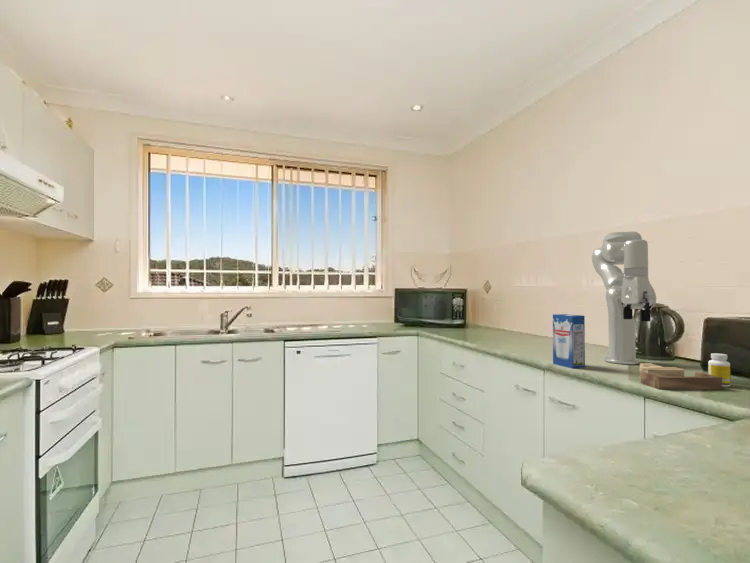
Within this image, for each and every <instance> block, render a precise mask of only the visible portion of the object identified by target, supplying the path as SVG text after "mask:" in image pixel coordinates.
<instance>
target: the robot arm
mask: <svg viewBox="0 0 750 563" xmlns="http://www.w3.org/2000/svg"><path fill="white" fill-rule="evenodd" d="M602 243H603V244H602V245H601V247H599V248H598V247H597V248H596V249H594V251H593V252H592V255H591V261H592V262H591V263H592V267H593V269H594V270H595V272H596V273H597V274H598V275H599V277H600V278H601V280H602V282H603V285H604V287H605V289H606V292H605V300H606V307H607V312H608V313H607V316H608V317H607V318H608V349H607V350H606V354H608V356H605V357H604V361H605V362H607V363H613V364H617V365H618V364H621V365H640V363H641V360H640V359H638V358H636V356H637V355H636V354H637V352H636V347H637V346H636V319H635V317H634V315H633V310H639V311H640V314H639V315H640V316H639V317H640V319H639V320H640V322H651V311H652V308H654V307H655V305H656V303H657V295H656V292H655V289H654V287H653V285H652V283H651V282H650V279H649V243H648V241H647V240H645V239H643V238H642V234H640V233H639V232H637V231H614V232H610V233H608V234H606V235H605V236H604V237H603V240H602ZM618 265H623V270H622V269H621V268H620V267H618Z"/></svg>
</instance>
